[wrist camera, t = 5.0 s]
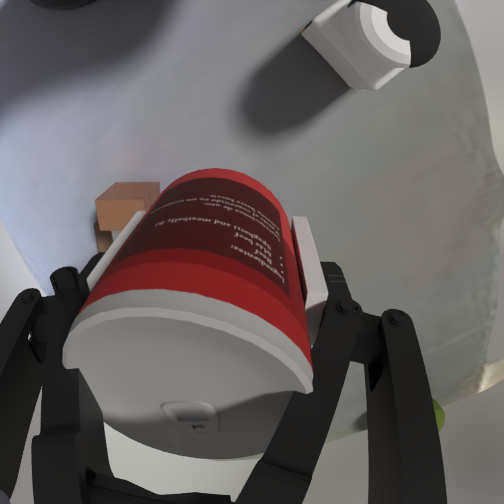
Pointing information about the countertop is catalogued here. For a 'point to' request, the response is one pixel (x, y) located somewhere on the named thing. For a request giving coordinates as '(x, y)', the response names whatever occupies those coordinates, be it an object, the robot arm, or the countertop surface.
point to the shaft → (124, 204)
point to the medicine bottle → (374, 38)
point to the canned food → (198, 322)
